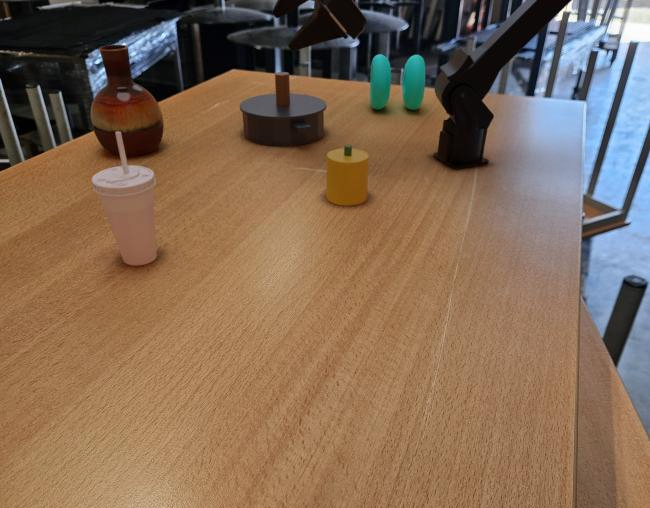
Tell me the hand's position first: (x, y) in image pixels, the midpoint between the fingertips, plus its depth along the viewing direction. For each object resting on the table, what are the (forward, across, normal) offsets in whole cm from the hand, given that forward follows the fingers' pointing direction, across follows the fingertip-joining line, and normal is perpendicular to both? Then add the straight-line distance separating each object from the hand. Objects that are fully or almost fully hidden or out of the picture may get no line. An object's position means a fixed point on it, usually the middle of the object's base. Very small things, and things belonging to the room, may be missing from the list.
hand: (281, 31), depth 80 cm
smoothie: (+24, +30, -10) cm, 40 cm away
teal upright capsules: (-3, -15, +37) cm, 41 cm away
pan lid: (+10, -8, +15) cm, 20 cm away
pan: (+13, -7, +18) cm, 23 cm away
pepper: (+6, +21, +12) cm, 25 cm away
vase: (+32, -6, 0) cm, 32 cm away
